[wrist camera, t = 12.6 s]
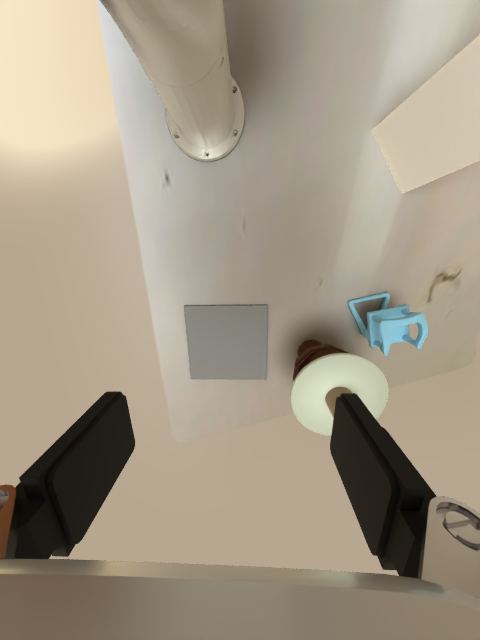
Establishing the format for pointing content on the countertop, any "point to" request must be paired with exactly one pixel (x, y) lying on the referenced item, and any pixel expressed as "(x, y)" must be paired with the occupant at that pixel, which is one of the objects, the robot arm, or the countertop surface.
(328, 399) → the lid
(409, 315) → the chair
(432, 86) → the milk
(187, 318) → the mat
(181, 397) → the countertop surface
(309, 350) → the ice cream bowl
